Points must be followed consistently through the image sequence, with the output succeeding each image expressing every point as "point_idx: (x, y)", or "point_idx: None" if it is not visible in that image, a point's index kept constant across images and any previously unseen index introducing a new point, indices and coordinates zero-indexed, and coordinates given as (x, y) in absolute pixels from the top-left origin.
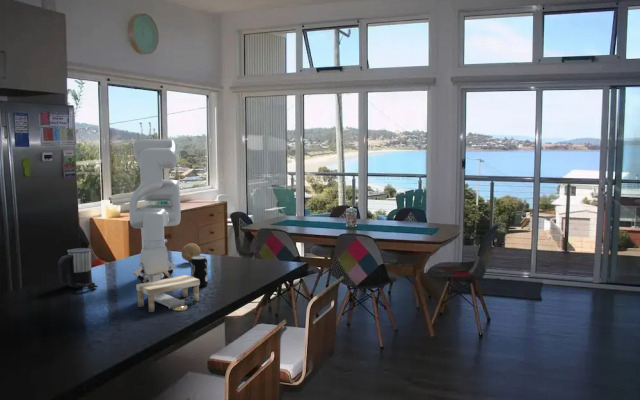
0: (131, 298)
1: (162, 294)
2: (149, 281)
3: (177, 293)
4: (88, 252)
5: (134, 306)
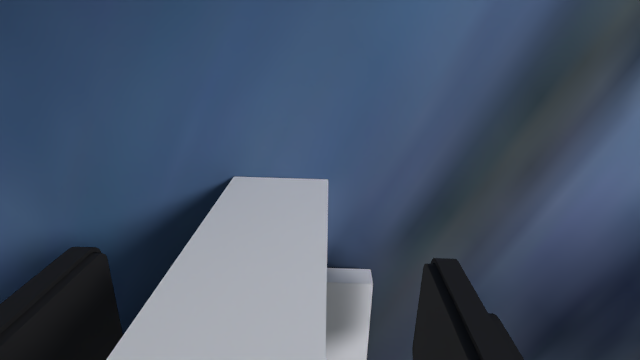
0: (33, 61)
1: (335, 304)
2: (147, 322)
3: (539, 262)
4: None
5: None
